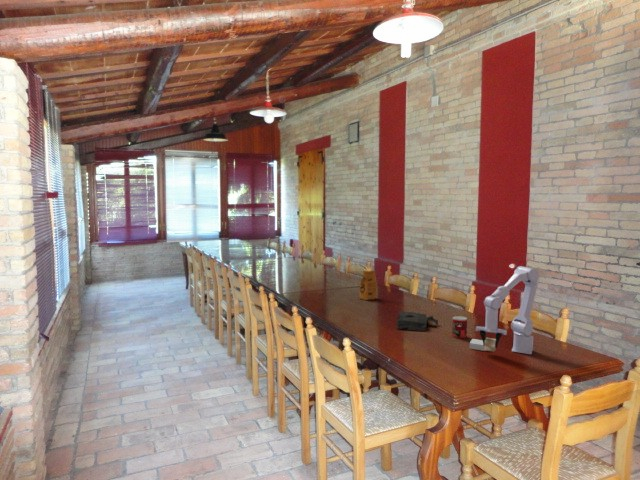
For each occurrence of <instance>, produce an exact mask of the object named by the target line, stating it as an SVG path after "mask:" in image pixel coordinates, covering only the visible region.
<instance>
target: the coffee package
mask: <svg viewBox="0 0 640 480" xmlns="http://www.w3.org/2000/svg"><path fill="white" fill-rule="evenodd" d="M362 273H363V275H362V278H361V279H360V282H359V295H358V296H359V299H361V300H363V301H369V300H372V301H373V300H375V299H377V288H378V283H377V275H376V272H375V269H372V270H363V271H362Z"/></svg>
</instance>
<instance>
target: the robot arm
mask: <svg viewBox="0 0 640 480" xmlns="http://www.w3.org/2000/svg"><path fill="white" fill-rule="evenodd" d="M539 277H540V273H539V271H538V270H537V268H534V267H532V268H531V267H527V266H523V265H519V266H517V267H516V269H515V270H514V272H513V274H512V276H510V278H509V279H508V281H506V283H505V284H504V285H500V286H498V287H497V289H496V290H494V292H492V294H491V295H487V296H486V297H485V298H484V300H483V305H484V309H485V323H484V324H485V326H478V325H477V326H476V327H475V332H479V335H480V337H481V340H483V346H484V343H485V339H486V338H487V337H486V336H487V333H491V334H495V339H496V344H495V348H496V349H497V348H498V345H499V341H500V339H501V337H502V335H504V336H507V333H508V331H507V330H506V329H502V328H498V322H499V317H498V316H499V309H500V308H501V306H502V303H503V301H504V300H505V299H507V297H508V296H509V295H510V290H512V289H513V288H514V287H515V286H517V284H519V283H521V282H523V284H524V285H525V287H524V290H523V294H522V299H521V303H520V307H519V311H518V314H517V315H515V316H514V317H513V320H512V322H511V323H510V328H511V330H512V333H513V344H512V345H513V346H512V348H511V352H514V353H520V354H526V355H532V354H533V351H534V346H533V345H534V335H532V333H533V331H534V321H533V320H532V318H531V314H532V310H533V306H534V301H535V297H536V293H537V289H538V285H539V284H538V283H539V282H538V281H539Z"/></svg>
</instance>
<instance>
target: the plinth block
mask: <svg viewBox="0 0 640 480" xmlns="http://www.w3.org/2000/svg"><path fill="white" fill-rule="evenodd" d="M468 345H469V347H468V348H469V349H470V350H476V351H483V352H486V351H487V350H484V346H483V340H482V339H477V338H476V339H475V338H472V339H471V340H470V342H469V344H468Z"/></svg>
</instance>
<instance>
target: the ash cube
mask: <svg viewBox="0 0 640 480" xmlns="http://www.w3.org/2000/svg"><path fill="white" fill-rule="evenodd" d="M495 344H496V338H491V337H486V339H485V343H484V350H486V351H488V352H493V353H494V352H495V351H496V350H497V348H495Z"/></svg>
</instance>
